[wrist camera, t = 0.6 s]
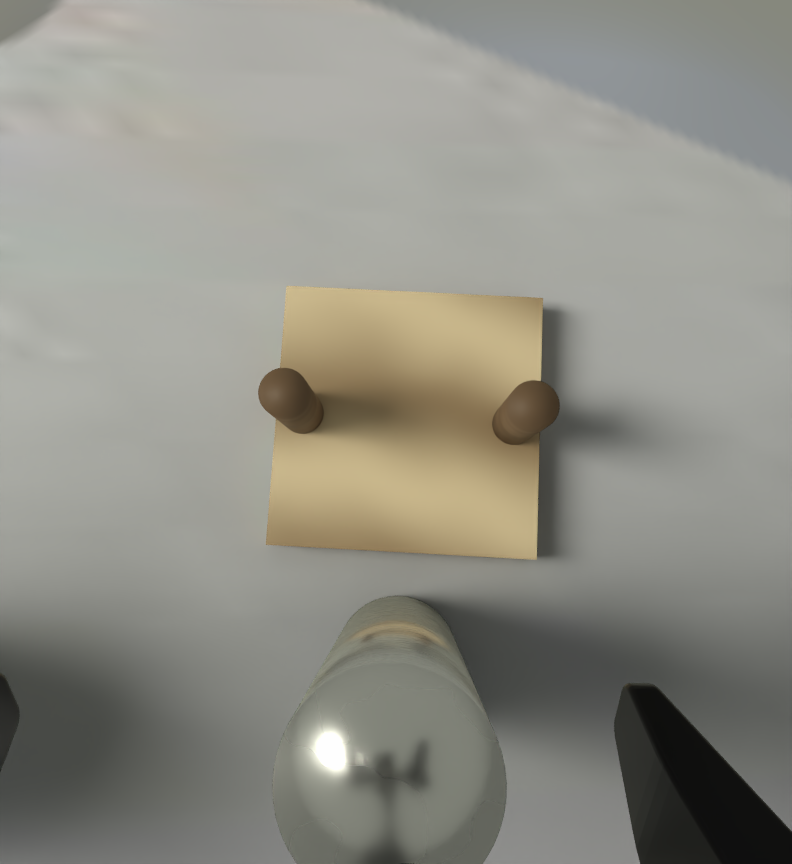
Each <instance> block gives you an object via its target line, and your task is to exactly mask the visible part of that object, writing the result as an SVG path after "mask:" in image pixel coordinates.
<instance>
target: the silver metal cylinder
mask: <svg viewBox="0 0 792 864" xmlns="http://www.w3.org/2000/svg"><path fill="white" fill-rule="evenodd" d="M506 788H507V782H506V772H505V765H504V760H503V756H502V751H501V748H500V746H499V743H498V740H497V737H496V735H495V732H494V730H493V728H492V725H491V723H490V721H489V718H488V716H487V714H486V711H485V709H484V707H483V704H482V702H481V700H480V697H479V695H478V693H477V690H476V688H475V686H474V683H473V681H472V679H471V676H470V674H469V672H468V669H467V667H466V665H465V662H464V660H463V658H462V655H461V653H460V651H459V648H458V646H457V644H456V641H455V639H454V637H453V634H452V632H451V630H450V628H449V626H448V625H447V623H446V622H445V620H444V619H443V618H442V617H441V616H440V615H439V613H437V612H436V611H435V610H434V609H433V608H431V607H430V606H428V605H427V604H425V603H423V602H421V601H419V600H416V599H413V598H410V597H404V596H389V597H384V598H379V599H377V600H374V601H372V602H370V603H368V604H366V605H365V606H363V607H362V608H360V609H359V610H358V611H357V612H356V613H355V614H354V615H353V616H352V617H351V618H350V619H349V620H348V622H347V624H346V625H345V627H344V628H343V630H342V632H341V634H340V635H339V637H338V639H337V640H336V642H335V644H334V646H333V647H332V649H331V651H330V653H329V654H328V656H327V658H326V660H325V661H324V663H323V665H322V667H321V668H320V670H319V672H318V674H317V675H316V677H315V679H314V681H313V682H312V684H311V686H310V687H309V689H308V691H307V693H306V694H305V696H304V698H303V700H302V701H301V703H300V705H299V707H298V708H297V710H296V712H295V714H294V715H293V717H292V719H291V721H290V722H289V724H288V726H287V728H286V730H285V732H284V735H283V737H282V739H281V742H280V745H279V748H278V751H277V754H276V760H275V765H274V770H273V784H272V789H273V804H274V810H275V815H276V820H277V823H278V826H279V829H280V833H281V835H282V838H283V840H284V842H285V844H286V846H287V849H288V850H289V852H290V854H291V855H292V857H293V858H294V860H295V862H296V863H297V864H483V862H484V861H485V859H486V858H487V856H488V854H489V853H490V851H491V849H492V847H493V845H494V843H495V841H496V838H497V836H498V834H499V831H500V827H501V824H502V820H503V817H504V811H505V804H506Z"/></svg>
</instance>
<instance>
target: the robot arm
mask: <svg viewBox="0 0 792 864" xmlns="http://www.w3.org/2000/svg"><path fill="white" fill-rule="evenodd" d="M18 722H19V707H18V705H17V702H16V700H15V698H14V695H13V693H12V691H11V688H10V686H9V684H8V682H7V679H6V677H5V676H4V675H3V674H1V673H0V771H1V768H2V766H3V763H4V761H5V758H6V755H7V753H8V750H9V747H10V745H11V742H12V739H13V737H14V734H15V732H16V729H17V726H18ZM614 732H615V739H616V745H617V750H618V755H619V761H620V766H621V771H622V776H623V782H624V787H625V792H626V798H627V803H628V808H629V814H630V819H631V824H632V830H633V834H634V839H635V844H636V849H637V853H638V856H639V860H640V864H792V831H791V830H790V829H789V828H788V827H787V826H786V825H785V824H784V823H783V822H782V821H781V819H780V818H779V817H778V816H777V815H776V814H775V813H774V812H773V811H772V810H771V809H770V808H769V807H768V805H767V804H766V803H765V802H764V801H763V800H762V799H761V798H760V797H759V796H758V795H757V794H756V793H755V791H754V790H753V789H752V788H751V787H750V786H749V785H748V784H747V783H746V782H745V781H744V780H743V779H742V778H741V776H740V775H739V774H738V773H737V772H736V771H735V770H734V769H733V768H732V767H731V766H730V765H729V764H728V762H727V761H726V760H725V759H724V758H723V757H722V756H721V755H720V754H719V753H718V752H717V751H716V750H715V748H714V747H713V746H712V745H711V744H710V743H709V742H708V741H707V740H706V739H705V738H704V737H703V736H702V734H701V733H700V732H699V731H698V730H697V729H696V728H695V727H694V726H693V725H692V724H691V723H690V722H689V721H688V719H687V718H686V717H685V716H684V715H683V714H682V713H681V712H680V711H679V710H678V709H677V708H676V707H675V705H674V704H673V703H672V702H671V701H670V700H669V699H668V698H667V697H666V696H665V695H664V694H663V693H662V691H661V690H660V689H659V688H658V687H656V686H655V685H653V684H648V683H628V684H626V685H625V686H624V687H623V689H622V692H621V696H620V700H619V704H618V709H617V713H616V717H615V722H614Z"/></svg>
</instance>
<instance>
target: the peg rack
mask: <svg viewBox="0 0 792 864" xmlns="http://www.w3.org/2000/svg"><path fill="white" fill-rule="evenodd" d="M542 315H543V298H531V297H510V296H489V295H468V294H447V293H426V292H405V291H383V290H362V289H341V288H320V287H299V286H287V288H286V301H285V313H284V326H283V338H282V351H281V363H280V368H278V369H275V370H273V371H271V372H269V373H268V374H267V375H266V376H265V377H264V378H263V379H262V381H261V383H260V386H259V391H258V395H259V400H260V403H261V405H262V406H263V408H264V409H265V410H266V411H267V412H268V413H270V414H271V415H272V416H273V417H275V418H276V425H275V438H274V450H273V463H272V475H271V488H270V500H269V513H268V525H267V537H266V545H282V546H300V547H318V548H336V549H354V550H372V551H390V552H408V553H426V554H444V555H462V556H480V557H498V558H516V559H534V560H537V523H538V482H539V440H540V431H542V430H543V429H545V428H546V427H548V426H549V425H550V424H552V423H553V422H554V420H555V419H556V417H557V415H558V413H559V399H558V396H557V394H556V392H555V391H554V390H553V388H552V387H550V386H549V385H548V384H546V383H544V382H542V381H541V357H542Z"/></svg>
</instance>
